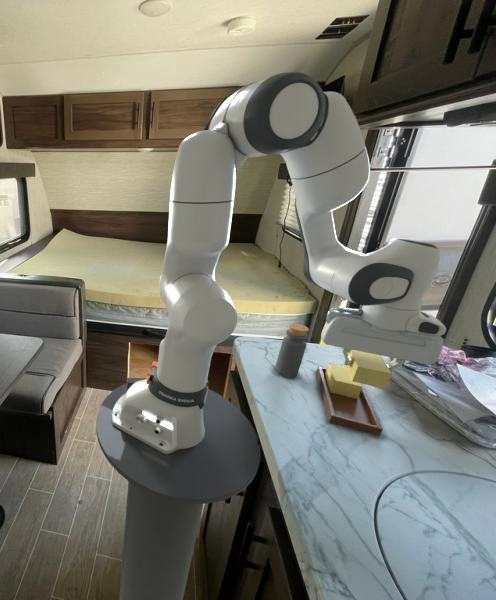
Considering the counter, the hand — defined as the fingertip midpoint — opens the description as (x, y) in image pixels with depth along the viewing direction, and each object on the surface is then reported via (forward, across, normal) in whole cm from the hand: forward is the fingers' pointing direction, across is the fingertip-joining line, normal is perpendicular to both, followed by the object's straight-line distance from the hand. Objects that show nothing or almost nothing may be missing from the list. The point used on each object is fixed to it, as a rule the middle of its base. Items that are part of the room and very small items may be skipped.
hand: (365, 368), depth 74 cm
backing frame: (+13, 0, +5) cm, 14 cm away
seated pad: (+12, 0, +11) cm, 16 cm away
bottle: (+13, -13, +12) cm, 22 cm away
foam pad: (+2, 0, 0) cm, 2 cm away
